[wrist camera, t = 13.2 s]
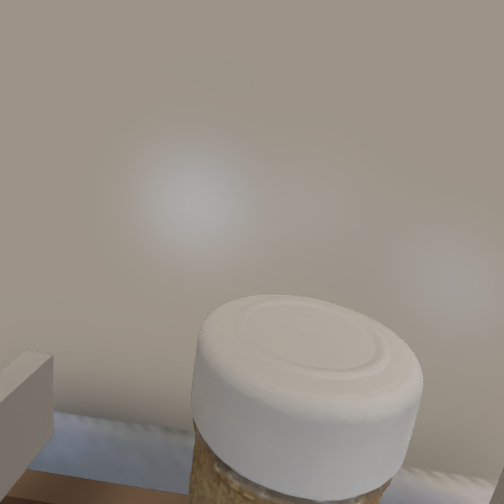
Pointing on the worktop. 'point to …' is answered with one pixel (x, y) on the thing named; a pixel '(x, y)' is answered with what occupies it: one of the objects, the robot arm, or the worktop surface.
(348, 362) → the spice bottle
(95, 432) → the worktop surface
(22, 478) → the wooden compartment tray
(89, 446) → the worktop surface
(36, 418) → the robot arm
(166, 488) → the worktop surface
